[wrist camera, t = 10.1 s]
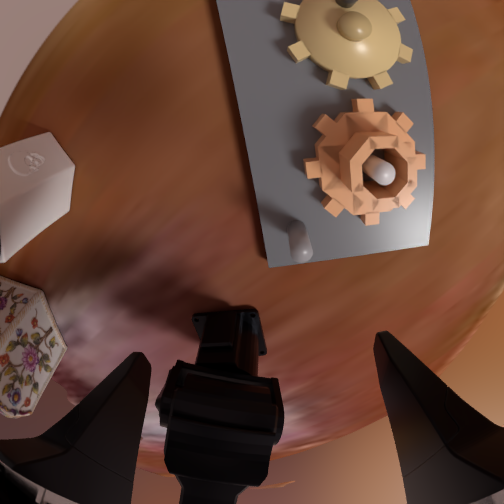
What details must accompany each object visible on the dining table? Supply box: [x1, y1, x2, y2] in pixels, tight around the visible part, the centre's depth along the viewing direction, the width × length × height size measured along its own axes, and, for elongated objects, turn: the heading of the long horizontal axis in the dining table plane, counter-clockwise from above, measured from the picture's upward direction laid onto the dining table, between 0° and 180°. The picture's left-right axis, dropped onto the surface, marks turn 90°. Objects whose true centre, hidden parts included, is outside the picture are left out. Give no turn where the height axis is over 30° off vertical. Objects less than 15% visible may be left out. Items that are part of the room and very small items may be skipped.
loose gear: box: [303, 99, 426, 226], centre depth 15 cm, size 9×9×4 cm
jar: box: [0, 132, 75, 263], centre depth 14 cm, size 9×8×12 cm
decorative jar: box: [0, 276, 67, 418], centre depth 21 cm, size 12×12×18 cm
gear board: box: [216, 0, 434, 268], centre depth 14 cm, size 22×14×4 cm, turn 10°
